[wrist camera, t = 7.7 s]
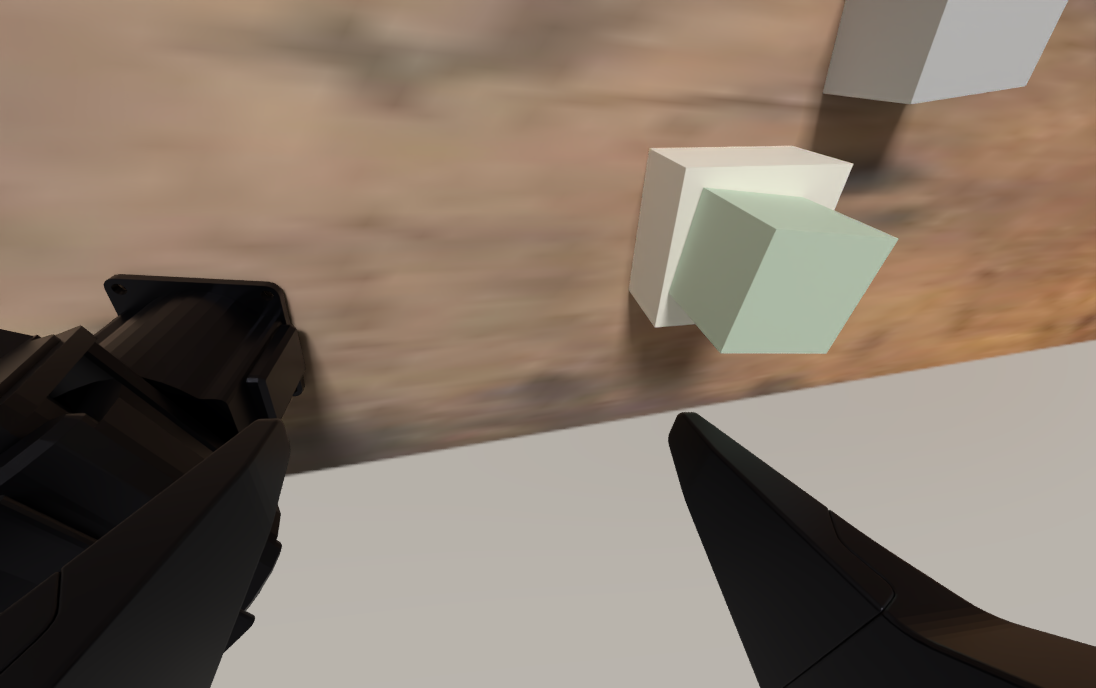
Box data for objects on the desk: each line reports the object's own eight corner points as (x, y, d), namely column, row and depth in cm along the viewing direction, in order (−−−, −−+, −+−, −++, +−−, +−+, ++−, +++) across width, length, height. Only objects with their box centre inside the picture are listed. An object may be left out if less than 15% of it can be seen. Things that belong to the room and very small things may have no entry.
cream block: (627, 287, 22) (654, 327, 19) (647, 146, 18) (686, 167, 15) (745, 279, 23) (790, 316, 20) (788, 144, 19) (853, 163, 16)
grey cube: (821, 93, 18) (910, 104, 15) (855, -47, 15) (975, -76, 12) (915, 78, 18) (1025, 86, 15) (964, -61, 16) (1114, -93, 12)
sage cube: (668, 292, 18) (720, 353, 15) (703, 187, 16) (776, 228, 12) (757, 295, 19) (826, 353, 16) (803, 197, 17) (898, 238, 13)
